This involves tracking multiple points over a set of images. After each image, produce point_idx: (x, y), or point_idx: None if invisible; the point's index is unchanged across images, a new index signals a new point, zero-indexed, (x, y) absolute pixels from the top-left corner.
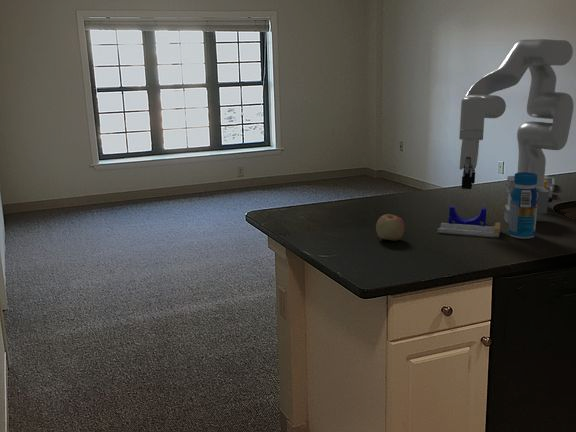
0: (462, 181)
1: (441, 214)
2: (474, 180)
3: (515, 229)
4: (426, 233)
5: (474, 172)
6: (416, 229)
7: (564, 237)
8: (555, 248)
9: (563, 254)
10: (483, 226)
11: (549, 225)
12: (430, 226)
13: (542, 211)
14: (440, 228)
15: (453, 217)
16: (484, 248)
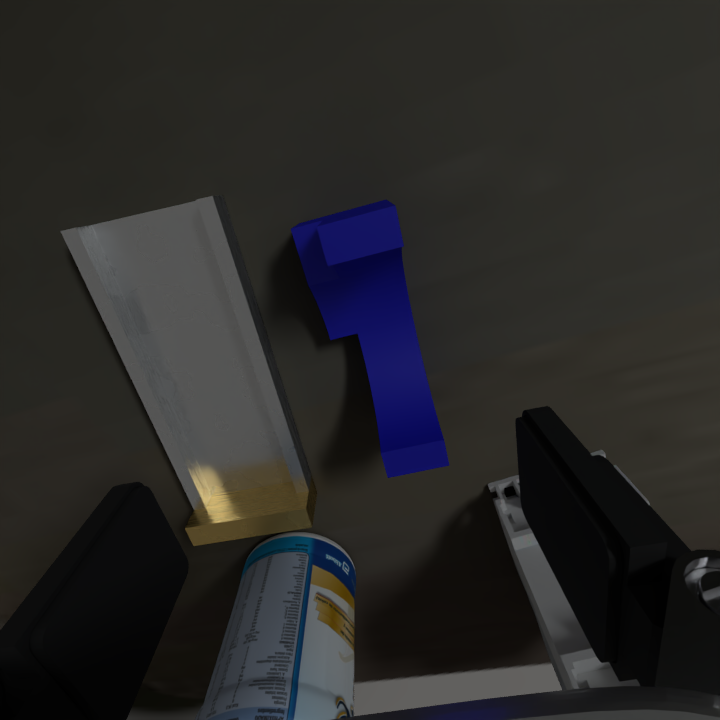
0: (56, 570)
1: (574, 56)
2: (544, 544)
3: (237, 593)
4: (22, 162)
5: (614, 669)
6: (54, 44)
7: (360, 668)
8: (208, 666)
9: (159, 688)
10: (280, 444)
11: (514, 614)
12: (194, 116)
13: (548, 653)
14: (78, 246)
15: (301, 263)
16: (22, 501)
